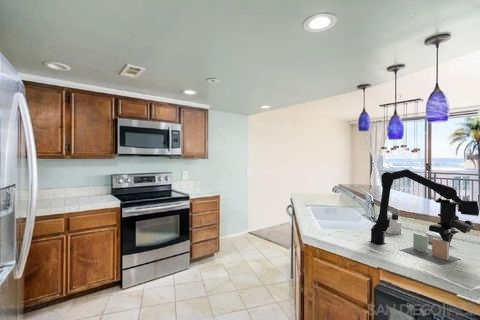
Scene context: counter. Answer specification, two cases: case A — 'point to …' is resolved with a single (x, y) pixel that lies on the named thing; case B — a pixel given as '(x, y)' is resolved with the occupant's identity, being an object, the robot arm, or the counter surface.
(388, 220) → the robot arm
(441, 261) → the slate mat
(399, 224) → the medicine bottle
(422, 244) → the sage tile
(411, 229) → the counter surface
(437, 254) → the cream angular block
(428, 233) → the ramekin
